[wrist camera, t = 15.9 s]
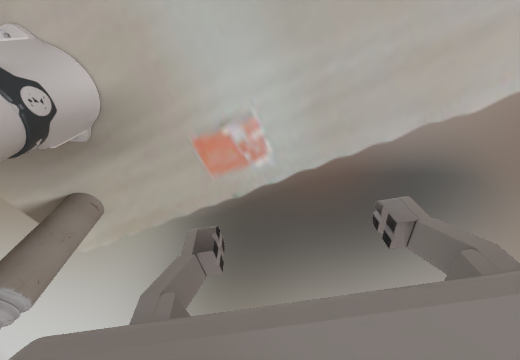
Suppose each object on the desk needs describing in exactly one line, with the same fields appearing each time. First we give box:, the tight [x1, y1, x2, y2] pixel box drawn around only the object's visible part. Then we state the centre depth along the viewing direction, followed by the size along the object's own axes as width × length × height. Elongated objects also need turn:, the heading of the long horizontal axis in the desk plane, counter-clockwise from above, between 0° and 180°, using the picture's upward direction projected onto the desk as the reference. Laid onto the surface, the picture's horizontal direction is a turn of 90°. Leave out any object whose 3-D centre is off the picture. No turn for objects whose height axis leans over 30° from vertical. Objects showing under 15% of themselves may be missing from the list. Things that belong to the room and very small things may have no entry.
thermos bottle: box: [0, 193, 104, 328], centre depth 41 cm, size 8×8×28 cm
